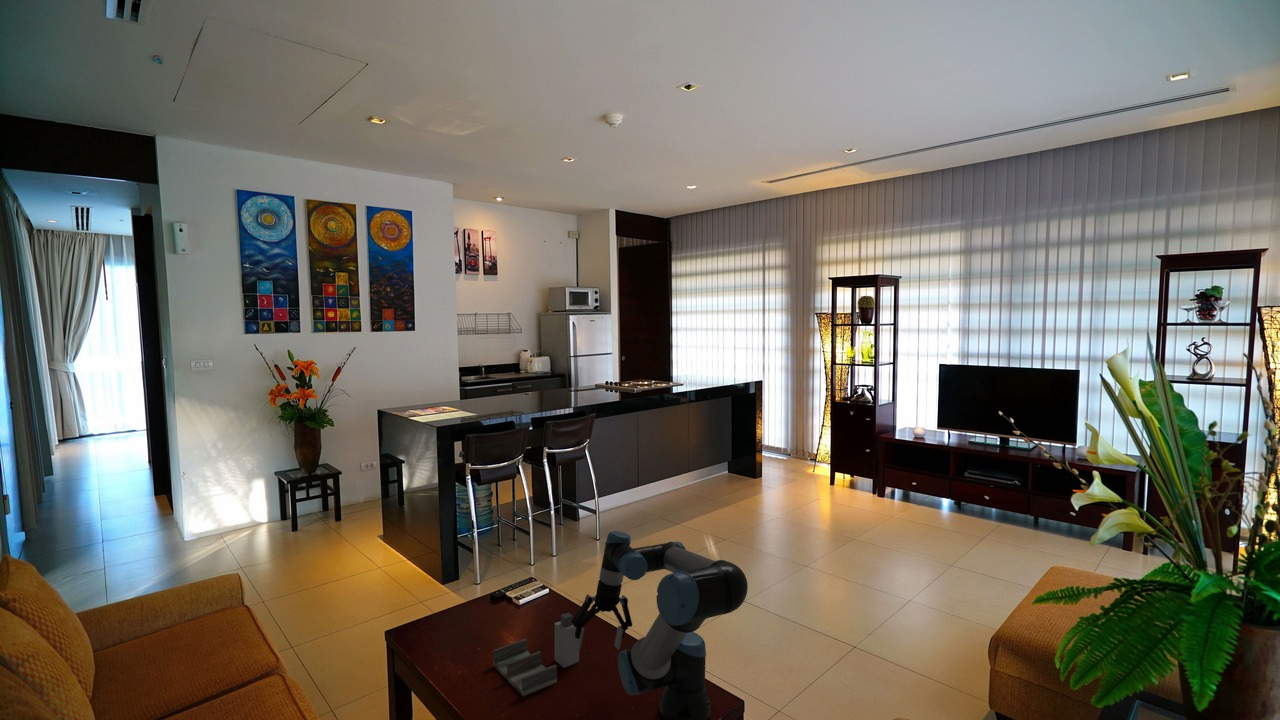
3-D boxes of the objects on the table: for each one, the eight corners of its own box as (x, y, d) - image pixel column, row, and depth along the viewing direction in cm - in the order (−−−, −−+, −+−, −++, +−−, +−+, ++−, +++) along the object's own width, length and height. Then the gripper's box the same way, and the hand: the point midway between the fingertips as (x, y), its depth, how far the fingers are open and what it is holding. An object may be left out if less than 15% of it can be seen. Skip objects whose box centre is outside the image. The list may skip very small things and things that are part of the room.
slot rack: (556, 682, 195) (556, 665, 194) (523, 696, 187) (523, 679, 187) (525, 653, 211) (525, 638, 211) (493, 665, 204) (493, 650, 203)
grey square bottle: (579, 661, 206) (579, 616, 205) (563, 668, 203) (563, 621, 202) (569, 654, 211) (569, 609, 210) (554, 660, 207) (554, 614, 206)
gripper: (640, 578, 201) (628, 641, 201) (569, 575, 191) (556, 642, 190) (650, 587, 194) (637, 653, 194) (577, 584, 184) (564, 654, 183)
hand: (597, 648), depth 192 cm, fingers open, 13 cm apart
